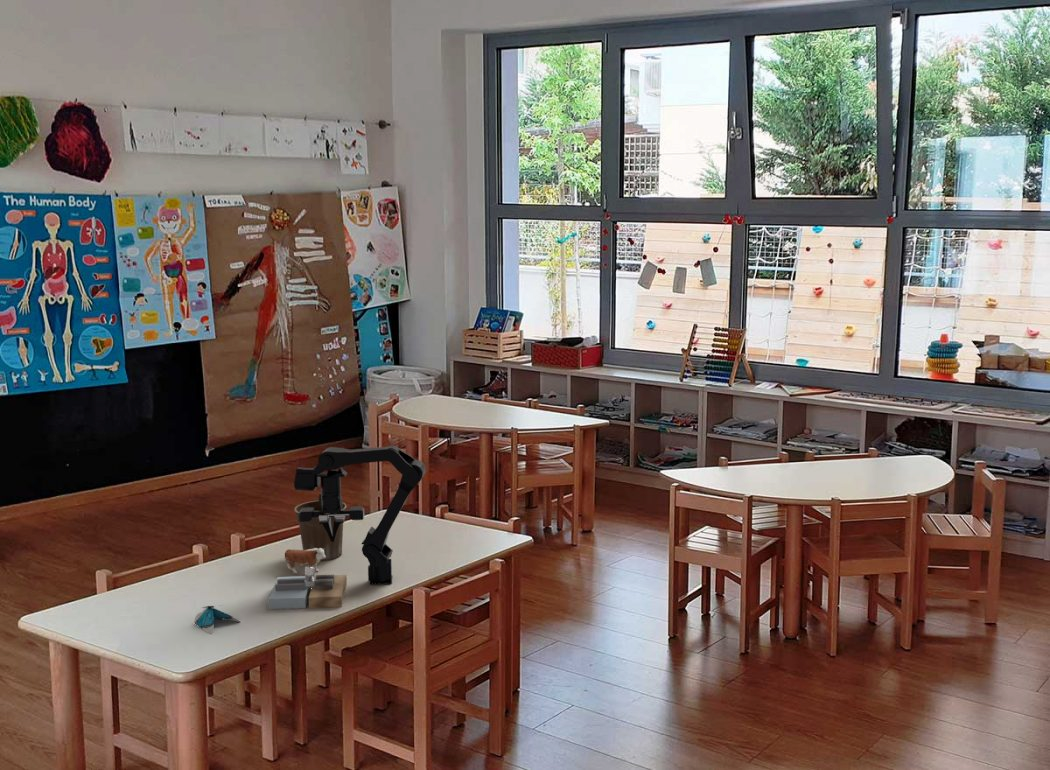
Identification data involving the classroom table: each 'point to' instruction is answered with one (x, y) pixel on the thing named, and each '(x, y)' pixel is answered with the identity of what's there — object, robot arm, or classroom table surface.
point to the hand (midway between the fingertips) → (332, 541)
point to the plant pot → (319, 533)
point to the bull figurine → (304, 557)
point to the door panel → (289, 593)
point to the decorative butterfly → (211, 618)
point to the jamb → (328, 591)
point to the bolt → (311, 577)
